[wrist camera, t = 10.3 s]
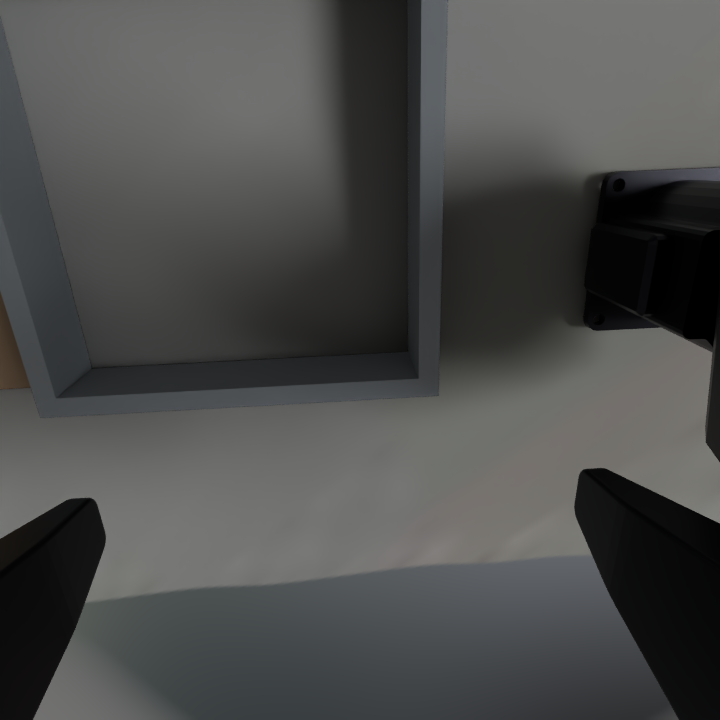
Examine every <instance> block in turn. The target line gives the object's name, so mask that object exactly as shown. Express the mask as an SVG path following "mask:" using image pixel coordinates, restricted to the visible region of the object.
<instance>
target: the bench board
mask: <svg viewBox="0 0 720 720" xmlns="http://www.w3.org/2000/svg"><path fill="white" fill-rule="evenodd" d="M13 388H31V387H30V384H29V380H28V377H27V374H26V371H25V368H24V365H23V361H22V358H21V355H20V352H19V349H18V346H17V342H16V339H15V336H14V333H13V330H12V326H11V323H10V320H9V317H8V314H7V311H6V307H5V304H4V301H3V298H2V295H1V292H0V389H13Z"/></svg>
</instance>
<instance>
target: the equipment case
mask: <svg viewBox="0 0 720 720" xmlns="http://www.w3.org/2000/svg"><path fill="white" fill-rule="evenodd" d="M447 20H448V0H407V27H408V352H394V353H375V354H356V355H337V356H318V357H300V358H281V359H262V360H243V361H224V362H205V363H186V364H167V365H148V366H129V367H110V368H92V367H91V363H90V360H89V356H88V352H87V348H86V344H85V340H84V337H83V333H82V329H81V325H80V321H79V317H78V314H77V310H76V306H75V302H74V298H73V294H72V290H71V287H70V283H69V279H68V275H67V271H66V267H65V264H64V260H63V256H62V252H61V248H60V244H59V241H58V237H57V233H56V229H55V225H54V221H53V218H52V214H51V210H50V206H49V202H48V198H47V195H46V191H45V187H44V183H43V179H42V175H41V171H40V168H39V164H38V160H37V156H36V152H35V148H34V145H33V141H32V137H31V133H30V129H29V125H28V122H27V118H26V114H25V110H24V106H23V102H22V99H21V95H20V91H19V87H18V83H17V79H16V75H15V72H14V68H13V64H12V60H11V56H10V52H9V49H8V45H7V41H6V37H5V33H4V29H3V26H2V22H1V18H0V292H1V295H2V298H3V301H4V304H5V307H6V311H7V314H8V317H9V320H10V323H11V326H12V330H13V333H14V336H15V339H16V342H17V346H18V349H19V352H20V355H21V358H22V361H23V365H24V368H25V371H26V374H27V377H28V380H29V384H30V387H31V390H32V393H33V396H34V399H35V403H36V406H37V409H38V412H39V415H40V418H51V417H69V416H87V415H105V414H123V413H141V412H159V411H177V410H195V409H213V408H230V407H248V406H266V405H284V404H302V403H320V402H338V401H356V400H374V399H392V398H409V397H427V396H439V355H440V313H441V271H442V229H443V188H444V146H445V104H446V62H447Z"/></svg>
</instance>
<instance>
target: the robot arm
mask: <svg viewBox="0 0 720 720" xmlns="http://www.w3.org/2000/svg"><path fill="white" fill-rule="evenodd" d="M617 179H618V180H619V181H620V186H619V188H618V189H617V190H616V191H614V190H613V183H614V181H616V180H617ZM584 287H585V288H586V289H587V294H586V302H585V309H584V316H583V320H584V323H585V325H586V326H588V327H589V328H591V329H592V330H596V331H600V330H620V329H639V328H658V327H662V328H664V329H666V330H668V331H670V332H672V333H674V334H676V335H678V336H680V337H682V338H684V339H686V340H688V341H690V342H692V343H694V344H696V345H698V346H700V347H703V348H705V349H707V350H709V351H711V352H713V355H712V365H711V375H710V385H709V395H708V405H707V415H706V425H705V429H706V443H707V445H708V446H709V448H710V449H711V450H712V452H713V453H714V455H715V456H716V457H717V459H718V460H719V462H720V167H714V168H690V169H666V170H642V171H618V172H612V173H610V174H608V175H607V176H606V177H605V178H604V180H603V182H602V185H601V192H600V199H599V206H598V214H597V221H596V224H595V226H594V227H593V228H592V230H591V237H590V244H589V252H588V259H587V267H586V274H585V282H584ZM598 314H600V319H599V320H598V321H597V322H594V323H593V319H594V317H595V316H596V315H598ZM574 508H575V515H576V518H577V521H578V523H579V526H580V528H581V530H582V533H583V535H584V537H585V540H586V542H587V544H588V547H589V549H590V551H591V554H592V556H593V558H594V560H595V563H596V565H597V568H598V570H599V572H600V574H601V577H602V579H603V582H604V584H605V586H606V588H607V590H608V592H609V594H610V596H611V598H612V600H613V602H614V604H615V606H616V608H617V609H618V611H619V613H620V615H621V617H622V618H623V620H624V622H625V624H626V625H627V627H628V629H629V631H630V633H631V634H632V636H633V638H634V640H635V642H636V643H637V645H638V647H639V649H640V651H641V652H642V654H643V656H644V658H645V660H646V662H647V663H648V665H649V667H650V669H651V670H652V672H653V674H654V676H655V678H656V680H657V681H658V683H659V685H660V687H661V689H662V690H663V692H664V694H665V696H666V697H667V699H668V701H669V703H670V705H671V706H672V708H673V710H674V712H675V714H676V715H677V717H678V719H679V720H720V523H717V522H715V521H713V520H711V519H709V518H707V517H705V516H703V515H701V514H699V513H697V512H695V511H693V510H690V509H688V508H686V507H684V506H682V505H680V504H678V503H676V502H674V501H672V500H670V499H668V498H666V497H663V496H661V495H659V494H657V493H655V492H653V491H651V490H649V489H647V488H645V487H643V486H641V485H639V484H636V483H634V482H632V481H630V480H628V479H626V478H624V477H622V476H620V475H618V474H616V473H614V472H612V471H609V470H607V469H605V468H594V469H584V470H582V471H581V472H580V474H579V479H578V485H577V492H576V498H575V506H574ZM105 542H106V535H105V530H104V527H103V523H102V520H101V516H100V513H99V509H98V506H97V503H96V502H95V500H94V499H92V498H76V499H69V500H66V501H65V502H63V503H61V504H59V505H58V506H56V507H54V508H53V509H51V510H49V511H47V512H46V513H44V514H42V515H41V516H39V517H37V518H35V519H34V520H32V521H30V522H28V523H27V524H25V525H23V526H22V527H20V528H18V529H16V530H15V531H13V532H11V533H10V534H8V535H6V536H4V537H3V538H1V539H0V720H33V718H34V716H35V714H36V712H37V710H38V708H39V705H40V703H41V701H42V699H43V697H44V695H45V693H46V690H47V688H48V686H49V684H50V682H51V680H52V678H53V676H54V673H55V671H56V669H57V667H58V665H59V663H60V661H61V659H62V656H63V654H64V652H65V650H66V648H67V646H68V644H69V642H70V639H71V637H72V635H73V632H74V630H75V628H76V625H77V623H78V620H79V618H80V615H81V613H82V609H83V607H84V604H85V601H86V598H87V595H88V593H89V590H90V587H91V584H92V581H93V578H94V576H95V573H96V570H97V567H98V564H99V561H100V559H101V556H102V553H103V550H104V547H105Z"/></svg>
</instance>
